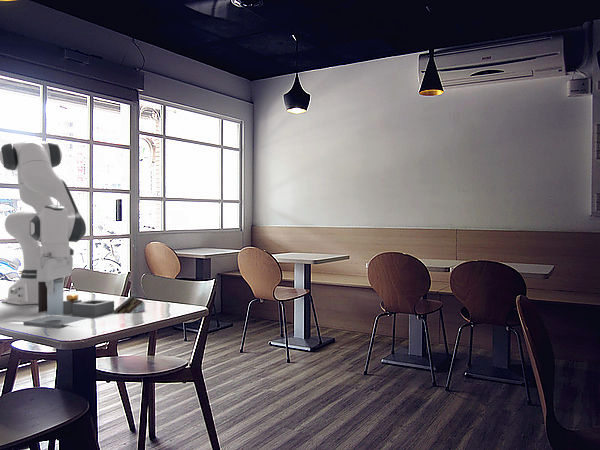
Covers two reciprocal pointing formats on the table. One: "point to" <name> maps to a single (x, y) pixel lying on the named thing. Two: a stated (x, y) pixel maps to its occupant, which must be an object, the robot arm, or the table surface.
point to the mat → (52, 321)
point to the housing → (87, 308)
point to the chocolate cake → (131, 306)
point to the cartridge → (55, 298)
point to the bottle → (42, 296)
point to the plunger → (72, 297)
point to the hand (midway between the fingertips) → (55, 291)
